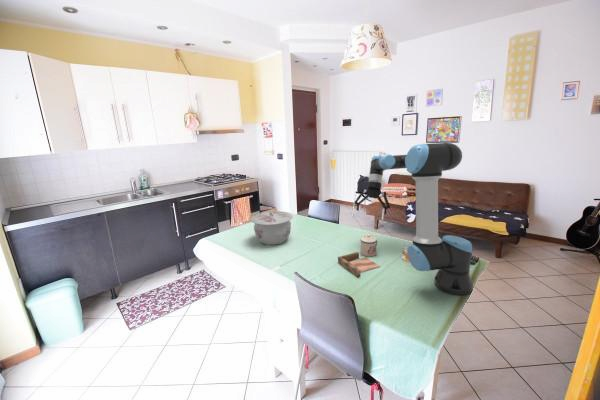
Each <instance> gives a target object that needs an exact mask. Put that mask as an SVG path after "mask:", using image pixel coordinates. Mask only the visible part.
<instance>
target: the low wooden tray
mask: <svg viewBox="0 0 600 400" xmlns="http://www.w3.org/2000/svg"><path fill="white" fill-rule="evenodd" d="M337 263H338V264H339V265H340V266H342V267H343V268H345V269H346V270H347V271H349V272H350V273H351V274H352V275H354V276H355V277H356V278H361V273H365V272H368V271H371V270H374V269H378V268H381V265H379V264H377V263H376V262H374V261H373V260H371V259H369V258H368V257H367V256H364V257H363V258H360V252H359V251H355V252H352V253H349V254H345V255H341V256H338V257H337Z"/></svg>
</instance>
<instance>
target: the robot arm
mask: <svg viewBox="0 0 600 400" xmlns="http://www.w3.org/2000/svg"><path fill="white" fill-rule="evenodd" d="M462 160H463V152H462V149H461V148H460V147H459V146H458V145H456V144H455V143H452V142H441V143H440V142H438V143H436V142H435V143H421V144H415V145H413V146H412V147H410V149H409V150H408V152H407V153H406V154H397V155H395V154H394V155H392V154H384V155H374V156H372V157H371V160H370V167H369V175H368V183H367V189H365V188H362V189H361V192H360V193H359V195H358V196H357V198H356V199H355V201H354V204H355V205H356V211H357V217H360V213H361V204H362V203H363V202H364V201H366V200H367V199H369V198H370V199H377V200H378V202H379V203H380V205H381V207H383V208H382V211H381V217H380V218H381V219H380V220H381V221H384V216H385V215H387V210H389V209H390V208H391V205H390V202H389V200H388V197H387V192H386V191H381V189H382V182H383V175H384V171H386V170H397V169H398V170H399V169H406V171H407V172H408V173H409V174H411V178H412V179H413V180H414V181H415V227H416V228H415V230H416V234H415V236H414V237H413V238H412V244H410V245H408V247H407V249H406V251H407V252H406V253H407V258H408V260H409V262H410V264H411V266H412V268H414V269H415V270H416V271H417V272H418V271H419V272H430V271H437V270H438V271H437V272H436V274H435V276H434V281H433V282H434V286H435V287H436V288H437V289H438V290H441V292H444V293H447V294H449V295H453V296H465V295H469V294H470V293H472V291H473V284H472V279H471V276H470V268H471V262H472V255H473V244H472V242H471V241H470V240H467V239H466V238H463V237H461V236H457V235H447V234H446V235H443V236H442V238H441V237H439V180H440V178H441V177H443V172H446V171H451V170H453V169H455V168H457V167H458V166H459V165H460V164H461V161H462ZM365 193H366V195H365V196H364V197H363V198H362V199H361V197H362V196H363V194H365ZM381 195H382V197H383V199H384V201H383V200H382V198H381ZM360 199H361V200H360Z"/></svg>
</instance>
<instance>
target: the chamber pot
mask: <svg viewBox="0 0 600 400" xmlns="http://www.w3.org/2000/svg"><path fill="white" fill-rule="evenodd" d="M292 219H293V215H292V214H291V213H289V212H286V211H277V210H271V211H270V210H269V211H265V212H260V213H257V214H255V215H253V216H252V217H251V218H250V221H251V223H253V224H254V225H253V231H254V234H255V236H256V239H258V240H259V242H260V243H262V244H264V245H268V246H271V245H272V246H273V245H274V246H276V245H280V244H282V243H284V242H285V241H287V239H288V238H289V236H290V234H291V229H292V222H291V220H292Z"/></svg>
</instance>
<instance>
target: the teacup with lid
mask: <svg viewBox="0 0 600 400" xmlns="http://www.w3.org/2000/svg"><path fill="white" fill-rule="evenodd" d="M377 246H378V240H377V238H376V237H375V236H372V235H371V234H367V235H364V236H361V238H360V254H361V255H362V256H364V257H367V258H368V257H374V256H376V253H377Z"/></svg>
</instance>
